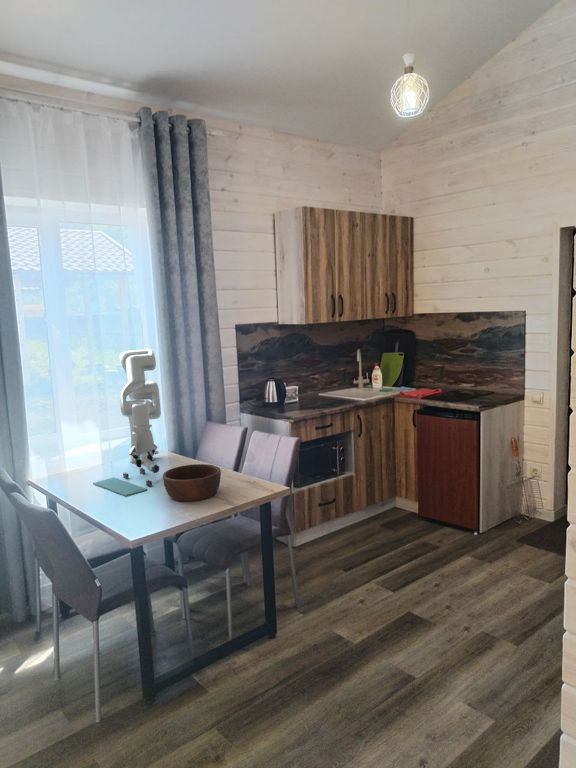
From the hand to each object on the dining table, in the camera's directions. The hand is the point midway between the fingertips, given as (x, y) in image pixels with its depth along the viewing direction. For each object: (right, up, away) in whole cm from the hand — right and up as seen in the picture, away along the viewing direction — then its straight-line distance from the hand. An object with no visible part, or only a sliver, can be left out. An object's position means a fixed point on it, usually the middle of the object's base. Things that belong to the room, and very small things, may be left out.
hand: (144, 465), depth 280 cm
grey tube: (0, -1, 0) cm, 1 cm away
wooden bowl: (+27, -10, -25) cm, 38 cm away
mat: (-9, -9, -9) cm, 16 cm away
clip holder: (0, -7, 0) cm, 7 cm away
